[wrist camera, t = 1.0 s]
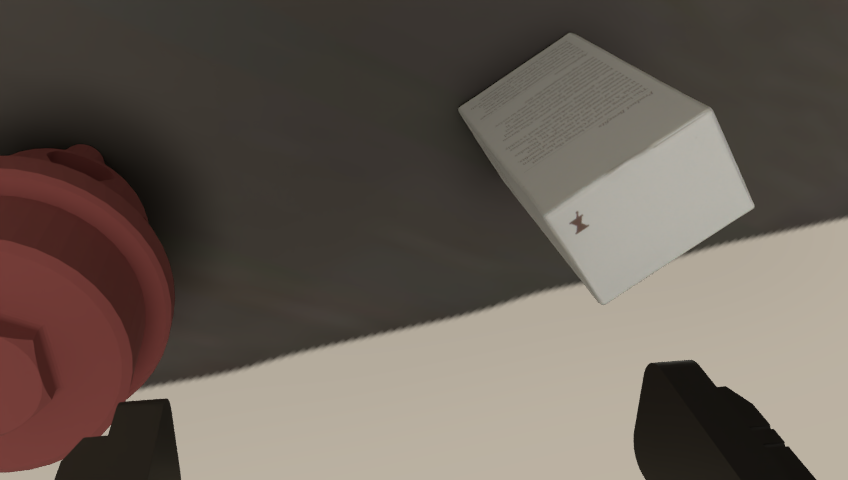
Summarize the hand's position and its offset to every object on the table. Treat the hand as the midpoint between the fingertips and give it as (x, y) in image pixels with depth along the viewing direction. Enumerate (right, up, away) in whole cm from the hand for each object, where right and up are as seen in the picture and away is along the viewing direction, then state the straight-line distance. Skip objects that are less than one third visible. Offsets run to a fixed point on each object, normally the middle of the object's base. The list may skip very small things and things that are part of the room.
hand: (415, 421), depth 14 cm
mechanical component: (-15, +4, +21) cm, 26 cm away
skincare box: (+5, +9, +22) cm, 24 cm away
